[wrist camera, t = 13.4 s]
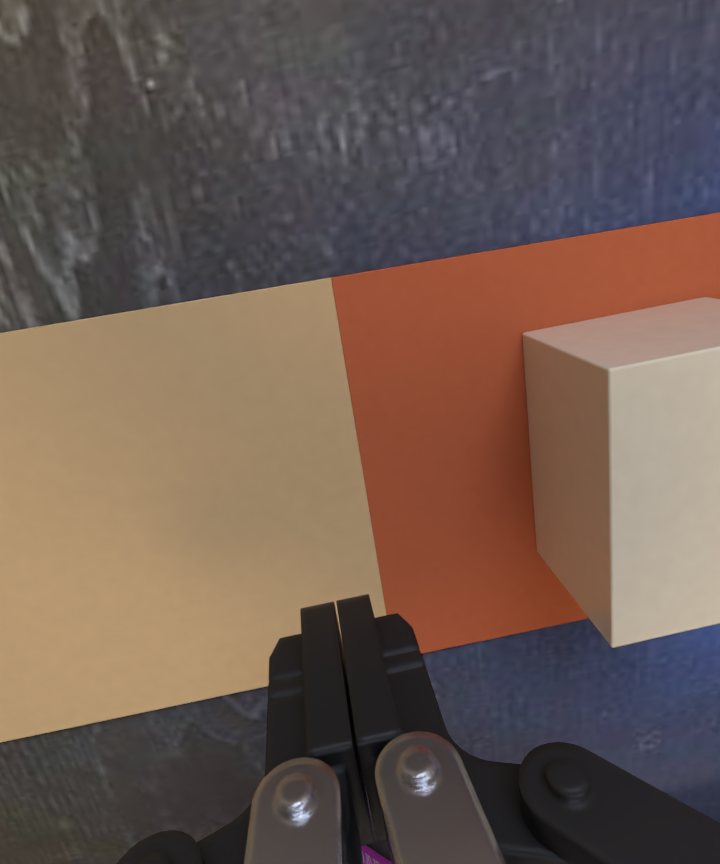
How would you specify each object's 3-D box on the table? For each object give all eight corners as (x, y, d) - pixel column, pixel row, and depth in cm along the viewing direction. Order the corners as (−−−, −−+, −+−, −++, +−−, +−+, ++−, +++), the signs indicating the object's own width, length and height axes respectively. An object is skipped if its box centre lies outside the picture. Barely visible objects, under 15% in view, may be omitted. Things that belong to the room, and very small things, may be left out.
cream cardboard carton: (536, 551, 20) (612, 649, 15) (521, 332, 17) (608, 369, 12) (694, 516, 20) (816, 602, 16) (705, 296, 17) (857, 319, 13)
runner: (-274, 796, 19) (-279, 801, 19) (-565, 427, 15) (-576, 430, 14) (788, 572, 22) (792, 575, 22) (843, 191, 17) (849, 190, 17)
